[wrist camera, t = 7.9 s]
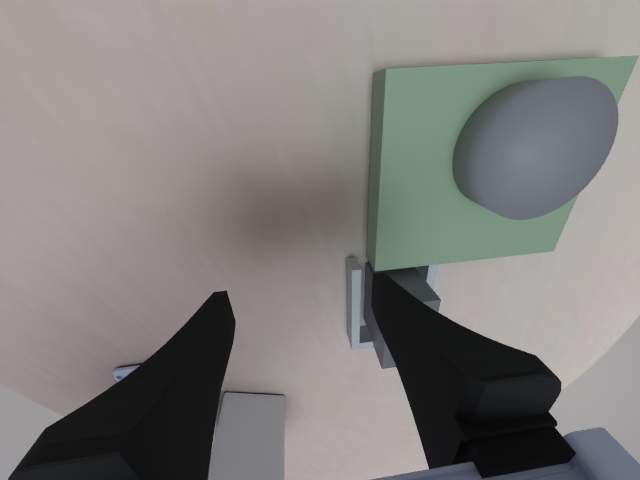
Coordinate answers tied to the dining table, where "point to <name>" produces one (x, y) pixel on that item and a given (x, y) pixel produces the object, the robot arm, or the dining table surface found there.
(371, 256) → the green panel
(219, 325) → the robot arm
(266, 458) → the milk carton
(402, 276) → the dark gray block
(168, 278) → the dining table surface
